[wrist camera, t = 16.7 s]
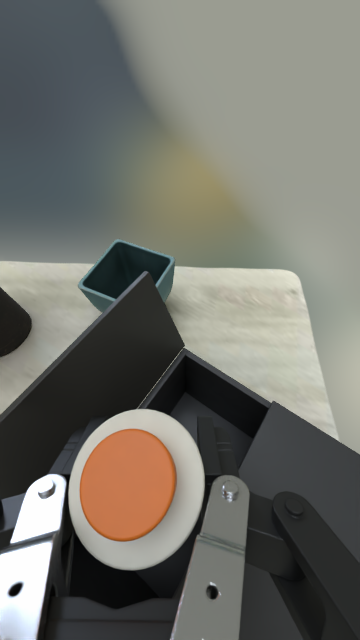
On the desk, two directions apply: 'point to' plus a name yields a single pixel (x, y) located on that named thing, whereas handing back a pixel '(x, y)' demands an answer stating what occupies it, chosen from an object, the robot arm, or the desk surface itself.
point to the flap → (88, 383)
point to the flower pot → (125, 273)
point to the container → (12, 323)
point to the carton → (261, 479)
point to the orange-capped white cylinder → (136, 489)
